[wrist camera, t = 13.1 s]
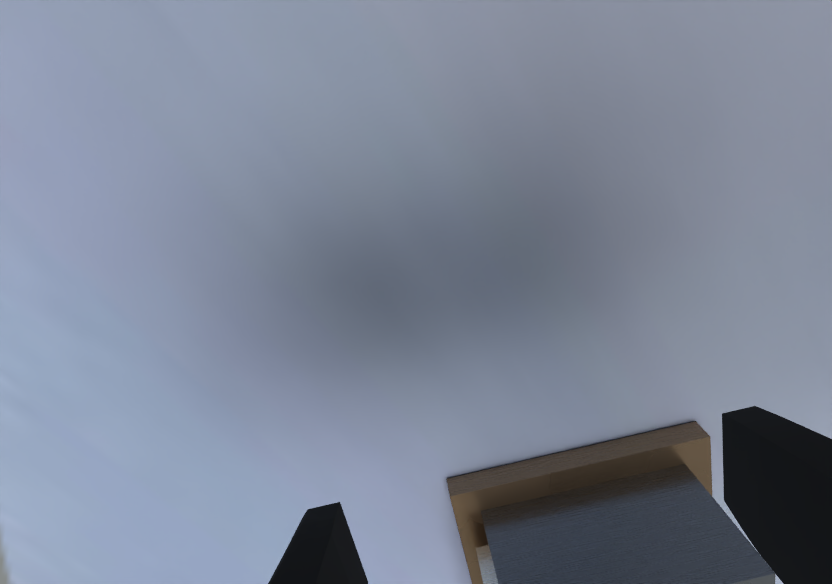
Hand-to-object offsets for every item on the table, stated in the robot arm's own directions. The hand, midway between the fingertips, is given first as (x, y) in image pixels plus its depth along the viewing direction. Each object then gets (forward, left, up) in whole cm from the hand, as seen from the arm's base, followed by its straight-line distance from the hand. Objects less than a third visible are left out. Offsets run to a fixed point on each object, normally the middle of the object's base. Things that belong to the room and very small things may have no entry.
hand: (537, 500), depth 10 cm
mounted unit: (-3, +11, -9) cm, 15 cm away
